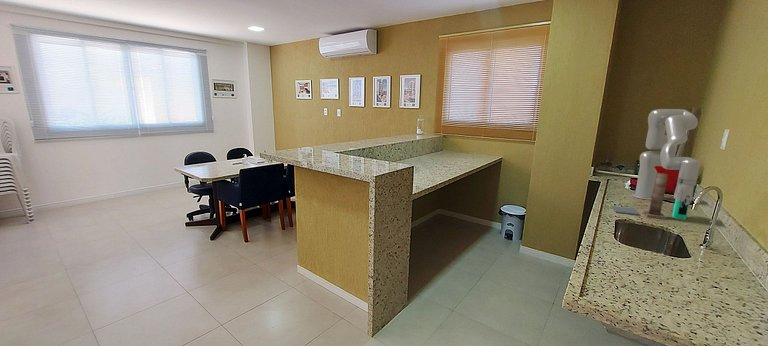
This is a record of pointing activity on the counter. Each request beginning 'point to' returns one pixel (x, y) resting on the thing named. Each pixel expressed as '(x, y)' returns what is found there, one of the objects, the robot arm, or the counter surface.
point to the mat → (625, 210)
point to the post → (657, 197)
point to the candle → (676, 210)
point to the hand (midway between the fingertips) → (680, 212)
